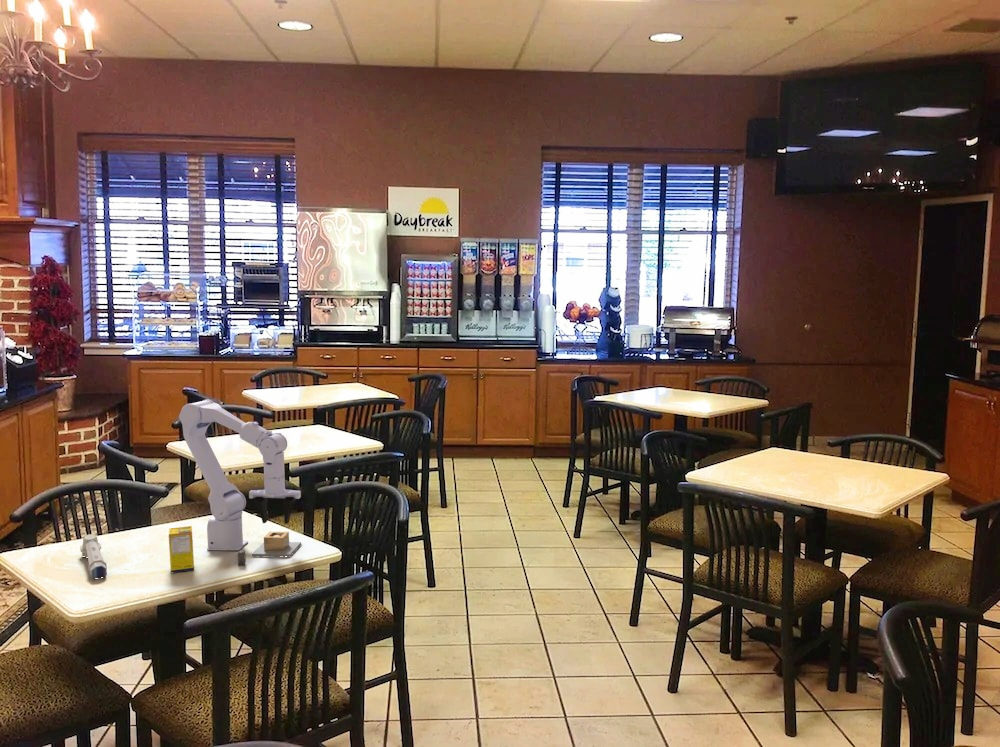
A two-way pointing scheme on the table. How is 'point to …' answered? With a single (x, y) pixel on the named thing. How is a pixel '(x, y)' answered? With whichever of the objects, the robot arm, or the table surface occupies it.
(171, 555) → the supplement box
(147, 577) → the table surface
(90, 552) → the white flashlight
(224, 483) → the robot arm
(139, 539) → the table surface
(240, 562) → the stand rod
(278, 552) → the hub plate
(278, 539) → the open wooden box
